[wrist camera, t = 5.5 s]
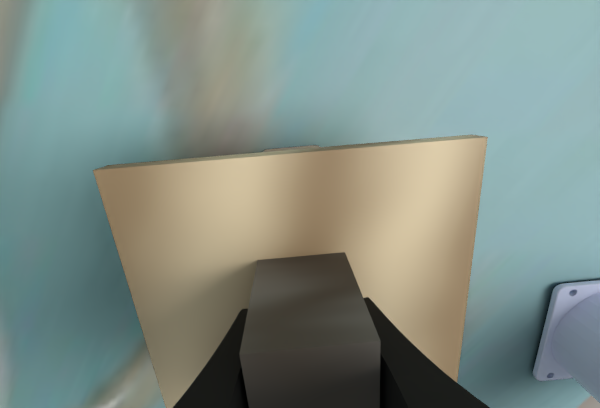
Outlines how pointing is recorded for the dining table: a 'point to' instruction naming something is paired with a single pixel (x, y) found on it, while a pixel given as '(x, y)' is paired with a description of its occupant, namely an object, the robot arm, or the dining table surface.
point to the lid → (299, 261)
